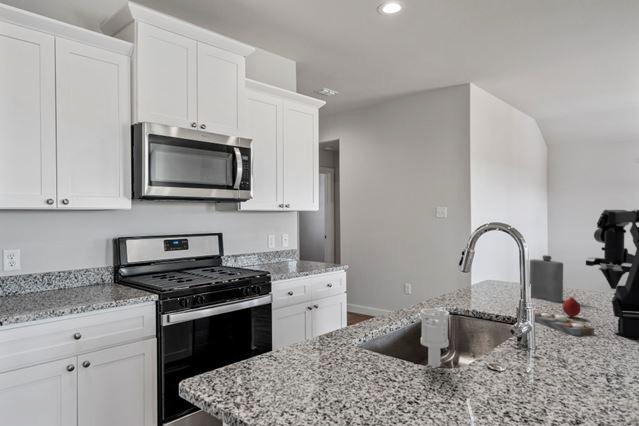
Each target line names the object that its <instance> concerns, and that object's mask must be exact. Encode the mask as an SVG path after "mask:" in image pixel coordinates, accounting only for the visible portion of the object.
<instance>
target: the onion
mask: <svg viewBox="0 0 639 426" xmlns="http://www.w3.org/2000/svg"><path fill="white" fill-rule="evenodd" d="M568 297H569V298H568V299H566V300H565V301H564V302H562V303H563V304H562V310H563V313H564V314H566V316H567V317H569V318H574V317H576V316H578V315H579V314H580V312H581V305H580V304H579V303H580V302H578V301H577V300H576V299H575V298H573V296H568Z"/></svg>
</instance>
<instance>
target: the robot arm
mask: <svg viewBox="0 0 639 426" xmlns="http://www.w3.org/2000/svg"><path fill="white" fill-rule="evenodd" d="M629 224H631V226H630V229H629V233H630V235H631V236H632V242H633V245H634V246H635V248H636V250H635V254H631V253H630V252H629V250H628V247H627V248H625V234H626V233H627V230H626V229H625V227H626V226H628V225H629ZM637 224H639V209H634V210H626V209H603V212H601V215H600V216H599V219H598V221H597V223H596V228H597V229H596V230H595V231H594V234H593V238H594V240H595V241H596V242H598V243H600V244H601V243H602V244H604V247H603V246H602V247H601V251H604V258H603V257H587V259H586V260H585V266H588V267H594V266H600V267H599V268H598V270H599V271H601V273H602V274H603V276H604V277H605V279H606V281H607V283H608V285H609V287H610V289H612V290H615V292H614V293H613V295H614V296H613V297H612V300H611V304H612V305H611V306H612V312H613V316H614V317H616V318H618V319H617V331H616V332H614V334H615V335H617V336H620V337H623V338H626V339H630V340H635V341H636V340H639V226H638V225H637ZM626 273H628V275H627V278H626V281H625V284H624V285H619V282H620V281H621V279H622V277H623V275H624V274H626Z"/></svg>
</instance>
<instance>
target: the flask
mask: <svg viewBox="0 0 639 426" xmlns="http://www.w3.org/2000/svg"><path fill="white" fill-rule="evenodd" d="M530 284H531V297H530V298H532V299H540V300H542V301H543V300H544V301H549V302H552V303H558V304H559V303H564V302H563V299H564V298H563V295H564V263H563V262H560V261H555V260H554V261H553V260H552V256H551V255H545V254H544V255H543V256H542V259H533V258H532V259H530V260H529V285H530Z"/></svg>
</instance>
